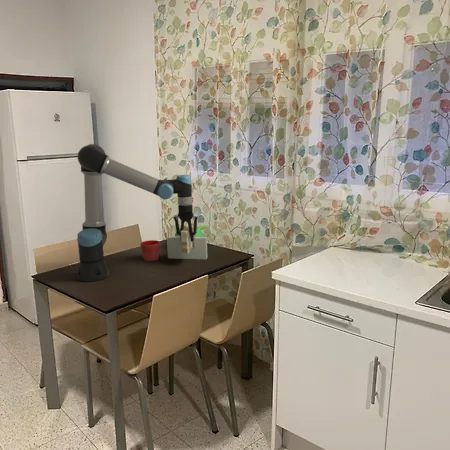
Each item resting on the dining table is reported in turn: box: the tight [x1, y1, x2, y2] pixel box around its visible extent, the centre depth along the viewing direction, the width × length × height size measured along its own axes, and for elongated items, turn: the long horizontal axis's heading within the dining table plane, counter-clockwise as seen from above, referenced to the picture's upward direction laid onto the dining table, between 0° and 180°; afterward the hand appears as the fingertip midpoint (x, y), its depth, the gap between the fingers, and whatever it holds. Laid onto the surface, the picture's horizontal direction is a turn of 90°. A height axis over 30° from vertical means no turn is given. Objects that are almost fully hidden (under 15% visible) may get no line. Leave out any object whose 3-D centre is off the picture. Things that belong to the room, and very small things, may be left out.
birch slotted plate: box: [181, 222, 196, 254], centre depth 249 cm, size 20×3×12 cm, turn 171°
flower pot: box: [140, 239, 161, 262], centre depth 255 cm, size 11×11×10 cm
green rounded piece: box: [174, 224, 208, 247], centre depth 273 cm, size 18×17×15 cm
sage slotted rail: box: [166, 235, 208, 260], centre depth 255 cm, size 22×3×12 cm, turn 81°
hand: (187, 247), depth 246 cm, fingers closed on birch slotted plate, 3 cm apart
